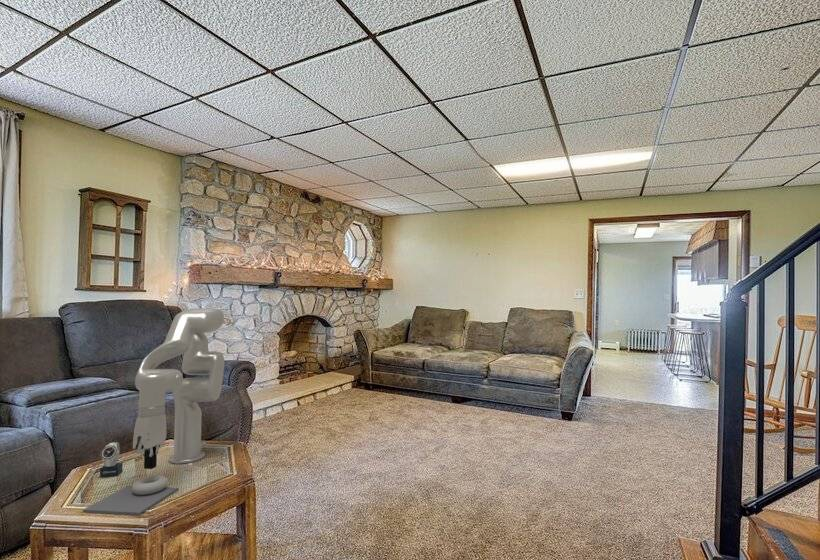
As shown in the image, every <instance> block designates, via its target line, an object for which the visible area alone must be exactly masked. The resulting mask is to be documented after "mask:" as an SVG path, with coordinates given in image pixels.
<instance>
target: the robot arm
mask: <svg viewBox="0 0 820 560" xmlns="http://www.w3.org/2000/svg"><path fill="white" fill-rule="evenodd" d="M224 321H225V315H224V313H223V311H222V310H221V309H219V308H188V309H184V310H182V311H181V312H178V313H177V314H175V316H174V317H173V320H172V322H171V325H170V327H169V329H168V333H167V335H166V337H165V340H164V342H163V343H162V344H161V345H158V346H157V347H156V348H154V349H153V350H151V352H150V353H148V354H147V355H146V356H145V357H144V358H143V360H142V362H141V363H140V365H139V368H138V369H137V370H138V371H137V373H136V376H135V379H134V386H135V388H136V389H137V390H138V416H137V417H136V420H135V424H134V431H133V438H132V449H133V450H136V455H142V457H143V463H144V464H143V469H145V470H152V469H155V468H157V460H158V459H157V458H158V456H157V455H158V453H159V450H160V447H161V446H163V445H164V443H165V441H166V440H167V428H168V427H167V417H166V392H167V393H168V392H172V396H173V401H174V434H173V436H174V437H173V438H174V439H173V454H172V455H171V456H169V459H168V462H169V463H171V464H177V465H179V464H188V463H189V464H190V463H194V462H198V461H199V460H202V459H203V458H204V457H205V456H206V453H205V451H204V450H202V448H203V447H206V445H207V442H206V441H202V409H201V407H200V406H199V404H198V403H203V402H207V403H208V402H215V401H216V400H218V399H219V397H220V396H221V392H222V385H223V379H224V372H225V357H224V354H223V353H222V352H220V351H217V350H216V351H215V350H214V351H213V350H212V351H211V350H209V351H208V347H209V339H208V337H207V335H206V333H207V334H208V333H209V334H210V333H213V332H214V331H217V330H219V329H221V327H222V326H223V324H224ZM181 355H182V356H183V358H182V362H181V363H182V364H181V371H180V370H178V369H175V368H169V369H168V368H164V369H163V368H157V367H158V366H159V365H160V364H162V363H164V362H166V361H168V360H171V359H174V358H176V357H178V356H181ZM182 372H183V373H184V374H185V375H188V376H189V375H191V376H205V375H206V376H208V377H185V378H184V377H183V376H184V375H183V373H182Z"/></svg>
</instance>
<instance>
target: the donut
mask: <svg viewBox="0 0 820 560" xmlns="http://www.w3.org/2000/svg"><path fill="white" fill-rule="evenodd" d="M168 480H169V479H168V477H167V476H165V475H162V474H160V475H159V474H155V475H148V476H144V477H142V478H140V479H138V480H136V481H135V482H134V483H133V484H132V485H131V486H132V491H133V492H134V493H135V494H138V495H148V494H153V493H156V492H159V491H161V490H162V489H164V488H165V487H168V483H169V481H168Z"/></svg>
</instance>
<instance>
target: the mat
mask: <svg viewBox="0 0 820 560" xmlns="http://www.w3.org/2000/svg"><path fill="white" fill-rule="evenodd" d="M132 486H133V485H126V486H124V487H122V488H121V489H119V490H117V491H115V492H113V493H112V494H110V495H108V496H106V497H104V498H101V499H100V500H98V501H97V502H95V503H93V504H91V505H89V506H87V507H86V508H84V509H82V513H83V512H86V514H100V515H101V514H103V515H123V516H138V515H139V516H141V515H142V514H141V513H143V512H144V513H146V512H147V511H149V510H150V509H152V508H153V507H155V506H156V505H157V504H159V503H161V502H162V501H165V500H166V499H167V498H168V497H171V495H174V494H175V493H176V492H178V491H179V487H169V486H166V487H165V488H164V489H162V490H161V491H159V492H156V493H153V494H148V495H138V494H135V493H134V492H133V491H132ZM148 509H149V510H148ZM146 510H147V511H146ZM145 511H146V512H145ZM144 513H143V514H144ZM140 514H141V515H140Z"/></svg>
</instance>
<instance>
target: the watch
mask: <svg viewBox="0 0 820 560" xmlns="http://www.w3.org/2000/svg"><path fill="white" fill-rule="evenodd" d="M120 451H121V450H120V443H119V442H117V441H116V442H109V443H108V444H107V445H106V446H105V447H104V448H103V449H102V451H101V452H100V457H101V460H102V463H103V464H104V465H103V466H101V468H99V478H100V477H102V478H110V477H118V476H119V475H120V474H122V473H123V465H124V463H123V462H118V461H119V459H120V454H121V453H120Z"/></svg>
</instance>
